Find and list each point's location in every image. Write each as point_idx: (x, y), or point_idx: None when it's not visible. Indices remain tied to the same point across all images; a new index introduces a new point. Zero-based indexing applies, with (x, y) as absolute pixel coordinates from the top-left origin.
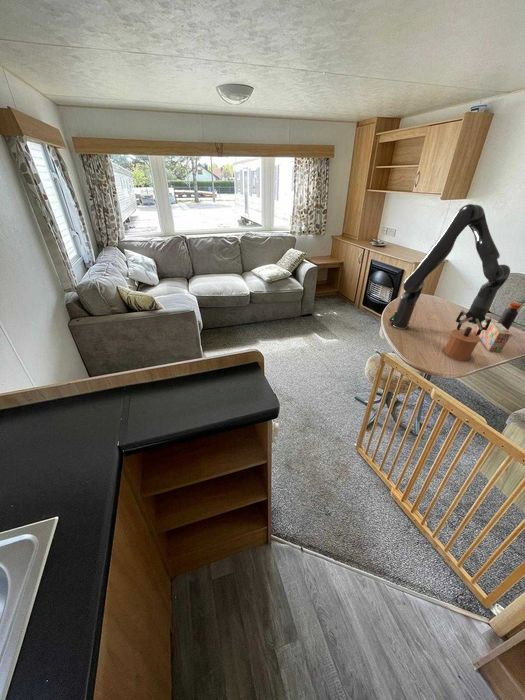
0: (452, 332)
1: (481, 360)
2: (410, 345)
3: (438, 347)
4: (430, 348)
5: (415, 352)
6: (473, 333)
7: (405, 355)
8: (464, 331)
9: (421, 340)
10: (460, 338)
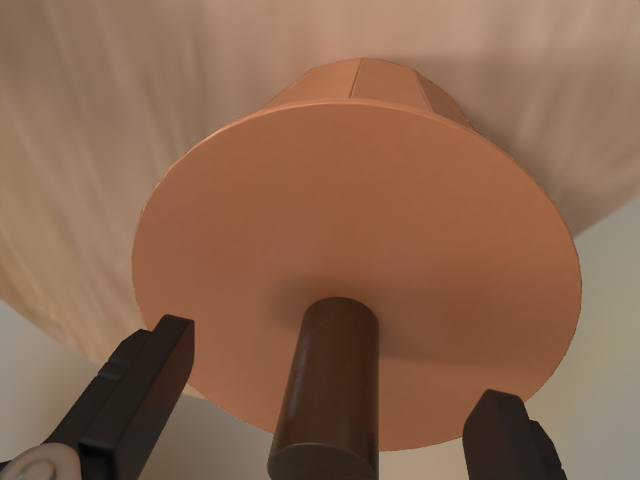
0: (150, 316)
1: (588, 173)
2: (17, 207)
3: (203, 121)
4: (150, 178)
5: (88, 283)
6: (506, 194)
7: (60, 336)
8: (327, 190)
9: (34, 57)
10: (268, 419)
